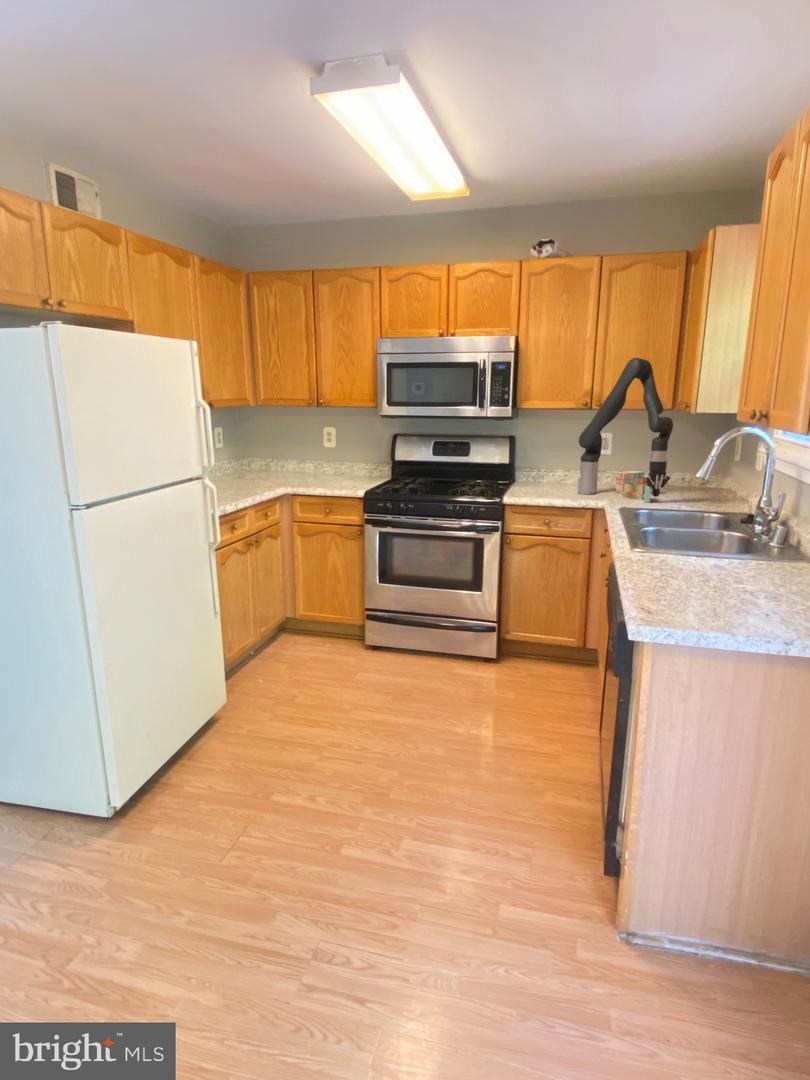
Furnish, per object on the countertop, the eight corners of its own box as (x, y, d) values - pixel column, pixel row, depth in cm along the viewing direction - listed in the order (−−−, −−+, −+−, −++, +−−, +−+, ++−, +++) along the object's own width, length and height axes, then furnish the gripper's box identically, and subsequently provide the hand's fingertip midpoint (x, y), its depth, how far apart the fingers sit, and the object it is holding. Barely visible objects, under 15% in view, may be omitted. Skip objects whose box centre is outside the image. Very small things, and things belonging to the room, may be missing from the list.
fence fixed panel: (622, 499, 301) (624, 482, 299) (623, 498, 303) (625, 482, 301) (646, 501, 295) (648, 484, 293) (648, 500, 296) (649, 483, 294)
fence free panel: (644, 499, 295) (645, 485, 294) (648, 499, 294) (649, 486, 293) (644, 502, 286) (646, 488, 284) (649, 503, 285) (650, 488, 284)
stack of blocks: (650, 493, 322) (652, 470, 319) (657, 494, 316) (659, 471, 313) (615, 494, 317) (616, 471, 314) (622, 496, 311) (623, 472, 308)
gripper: (666, 458, 287) (663, 494, 291) (641, 460, 285) (638, 496, 289) (675, 460, 280) (672, 496, 284) (650, 461, 277) (647, 498, 281)
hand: (655, 496), depth 286 cm, fingers closed
